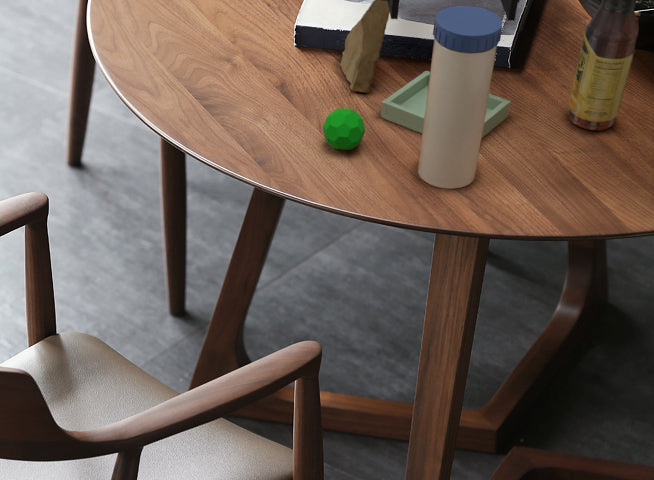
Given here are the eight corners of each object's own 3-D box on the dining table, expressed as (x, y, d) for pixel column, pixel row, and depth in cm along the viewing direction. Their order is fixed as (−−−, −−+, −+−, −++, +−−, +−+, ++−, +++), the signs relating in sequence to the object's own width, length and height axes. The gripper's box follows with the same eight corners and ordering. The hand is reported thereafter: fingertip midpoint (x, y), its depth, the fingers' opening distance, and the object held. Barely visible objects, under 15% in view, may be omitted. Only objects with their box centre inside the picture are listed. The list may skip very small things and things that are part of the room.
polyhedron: (354, 161, 129) (357, 126, 126) (316, 151, 130) (318, 116, 127) (368, 141, 132) (371, 106, 129) (331, 132, 134) (333, 97, 131)
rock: (385, 87, 137) (419, 47, 143) (349, 30, 134) (385, -9, 139) (326, 111, 146) (360, 72, 151) (291, 58, 142) (327, 19, 147)
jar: (485, 170, 128) (511, 22, 116) (456, 195, 124) (479, 45, 112) (436, 151, 131) (457, 4, 118) (406, 175, 127) (424, 26, 114)
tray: (508, 116, 138) (511, 101, 136) (466, 151, 131) (468, 135, 130) (424, 85, 143) (426, 70, 141) (380, 117, 137) (381, 101, 135)
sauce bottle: (575, 103, 140) (610, -48, 127) (622, 117, 138) (662, -36, 125) (557, 125, 136) (591, -29, 123) (605, 139, 134) (645, -16, 120)
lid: (512, 35, 116) (515, 19, 115) (476, 59, 112) (479, 42, 111) (456, 15, 120) (458, -1, 118) (419, 37, 116) (421, 21, 114)
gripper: (524, -34, 142) (556, 40, 126) (335, -37, 141) (344, 37, 126) (534, -92, 137) (568, -22, 121) (338, -95, 136) (347, -25, 121)
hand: (454, 8), depth 124 cm, fingers open, 13 cm apart
